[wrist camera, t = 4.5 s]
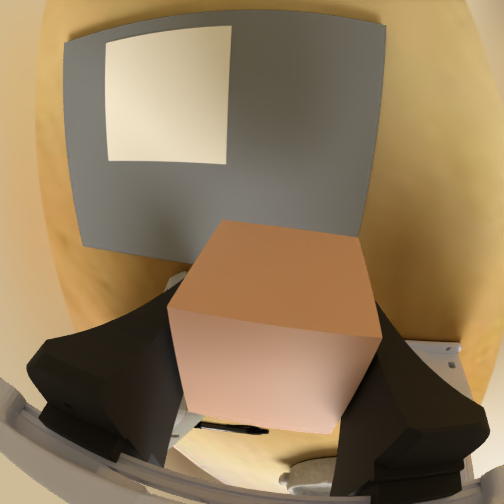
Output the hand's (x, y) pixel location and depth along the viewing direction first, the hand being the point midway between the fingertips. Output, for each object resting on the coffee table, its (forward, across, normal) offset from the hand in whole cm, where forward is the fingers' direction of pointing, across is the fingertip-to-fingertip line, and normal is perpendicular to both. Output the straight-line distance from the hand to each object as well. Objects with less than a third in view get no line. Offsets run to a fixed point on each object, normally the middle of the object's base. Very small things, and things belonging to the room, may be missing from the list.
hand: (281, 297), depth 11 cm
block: (+1, 0, 0) cm, 1 cm away
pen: (+8, +6, +29) cm, 31 cm away
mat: (+8, +6, -4) cm, 11 cm away
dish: (+8, -12, +41) cm, 43 cm away
